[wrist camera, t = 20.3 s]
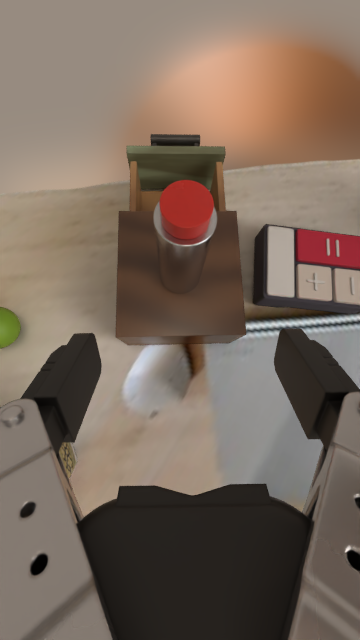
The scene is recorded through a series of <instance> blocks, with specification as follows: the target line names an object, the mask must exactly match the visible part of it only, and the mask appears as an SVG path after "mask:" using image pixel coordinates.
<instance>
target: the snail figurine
mask: <svg viewBox="0 0 360 640" xmlns="http://www.w3.org/2000/svg"><path fill="white" fill-rule="evenodd" d="M20 328H21V326H20V321H19V319H18V317H17V316H16V315H15V314H14V313H13V312H12V311H10V310H8V309H6V308H3V307H0V348H4V347H6V346H8V345H10V344H12V343H13V342H14V341H15V340H16V339H17V337H18V336H19V333H20Z"/></svg>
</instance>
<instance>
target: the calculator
mask: <svg viewBox="0 0 360 640" xmlns="http://www.w3.org/2000/svg"><path fill="white" fill-rule="evenodd" d="M253 302H254V304H255V305H262V306H271V307H292V308H301V309H310V310H320V311H329V312H338V313H348V314H353V313H357V312H360V236H354V235H346V234H338V233H330V232H323V231H315V230H307V229H300V228H292V227H284V226H277V225H269V224H266V225H264V227H263V228H262V229H261V231H260V232H259V233H258V235H257V236H256V238H255V259H254V298H253Z"/></svg>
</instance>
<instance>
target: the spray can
mask: <svg viewBox="0 0 360 640" xmlns="http://www.w3.org/2000/svg"><path fill="white" fill-rule="evenodd" d="M153 220H154V229H155V238H156V246H157V255H158V264H159V272H160V279H161V282H162V284H163V286H164V287H165V288H166V289H167V290H169V291H170V292H172V293H176V294H185V293H188V292H190V291H192V290H193V289H195V288H196V286H197V285H198V283H199V281H200V277H201V274H202V271H203V268H204V264H205V261H206V258H207V255H208V251H209V248H210V245H211V242H212V238H213V235H214V232H215V229H216V225H217V213H216V210H215V207H214V201H213V197H212V195H211V193H210V192H209V190H208V189H207V188H206V187H205V186H203V185H202V184H200V183H198V182H196V181H192V180H180V181H176V182H174V183H172V184H170V185H169V186H167V187H166V188H165V190H164V191H163V192H162V194H161V197H160V201H159V202H158V204H157V205H156V207H155V210H154V215H153Z"/></svg>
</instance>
